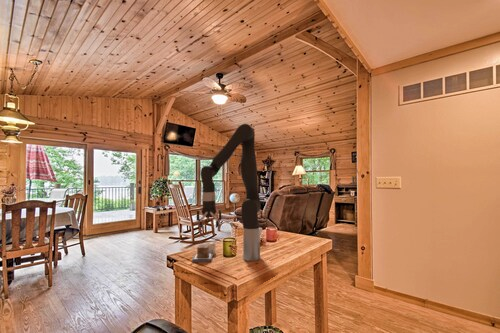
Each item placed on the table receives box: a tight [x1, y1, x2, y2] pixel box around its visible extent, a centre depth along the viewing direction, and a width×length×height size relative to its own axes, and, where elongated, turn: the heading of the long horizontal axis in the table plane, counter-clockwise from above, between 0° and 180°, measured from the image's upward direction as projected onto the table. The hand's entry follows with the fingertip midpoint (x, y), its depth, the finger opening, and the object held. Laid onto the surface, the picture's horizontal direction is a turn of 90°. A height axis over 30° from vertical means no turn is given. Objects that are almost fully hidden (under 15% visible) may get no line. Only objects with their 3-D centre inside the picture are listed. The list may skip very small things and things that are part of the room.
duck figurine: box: [260, 227, 265, 240], centre depth 168 cm, size 12×8×11 cm
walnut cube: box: [196, 244, 209, 258], centre depth 136 cm, size 6×6×6 cm
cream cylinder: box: [208, 241, 216, 255], centre depth 145 cm, size 4×4×6 cm
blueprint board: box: [191, 252, 214, 263], centre depth 136 cm, size 10×10×2 cm
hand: (209, 227), depth 142 cm, fingers open, 8 cm apart
